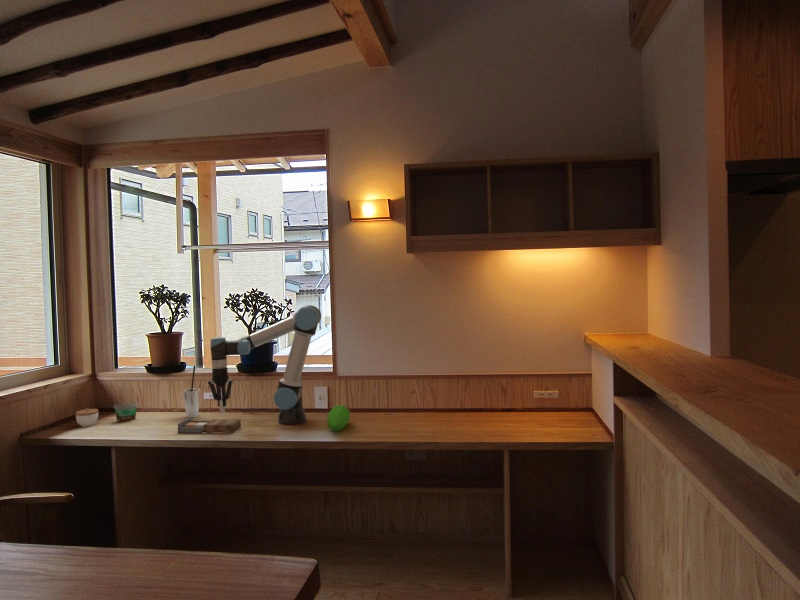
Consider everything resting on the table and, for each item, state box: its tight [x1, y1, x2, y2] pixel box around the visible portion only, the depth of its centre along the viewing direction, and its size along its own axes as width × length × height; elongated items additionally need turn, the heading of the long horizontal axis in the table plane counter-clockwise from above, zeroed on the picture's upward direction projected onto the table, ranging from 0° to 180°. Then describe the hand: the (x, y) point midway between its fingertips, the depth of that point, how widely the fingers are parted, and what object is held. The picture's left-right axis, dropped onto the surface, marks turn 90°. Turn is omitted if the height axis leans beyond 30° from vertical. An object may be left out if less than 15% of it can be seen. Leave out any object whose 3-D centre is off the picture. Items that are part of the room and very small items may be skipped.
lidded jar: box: [75, 407, 99, 428], centre depth 290 cm, size 11×11×9 cm
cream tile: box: [195, 422, 206, 429], centre depth 277 cm, size 5×5×2 cm
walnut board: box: [203, 418, 242, 434], centre depth 276 cm, size 15×11×4 cm
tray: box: [177, 417, 210, 434], centre depth 278 cm, size 13×13×5 cm
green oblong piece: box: [327, 405, 351, 432], centre depth 273 cm, size 11×12×30 cm
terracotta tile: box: [185, 422, 198, 427], centre depth 278 cm, size 5×5×2 cm
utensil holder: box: [181, 365, 202, 418], centre depth 304 cm, size 11×11×30 cm
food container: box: [113, 400, 139, 423], centre depth 297 cm, size 12×6×10 cm, turn 129°
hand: (222, 412), depth 277 cm, fingers closed
